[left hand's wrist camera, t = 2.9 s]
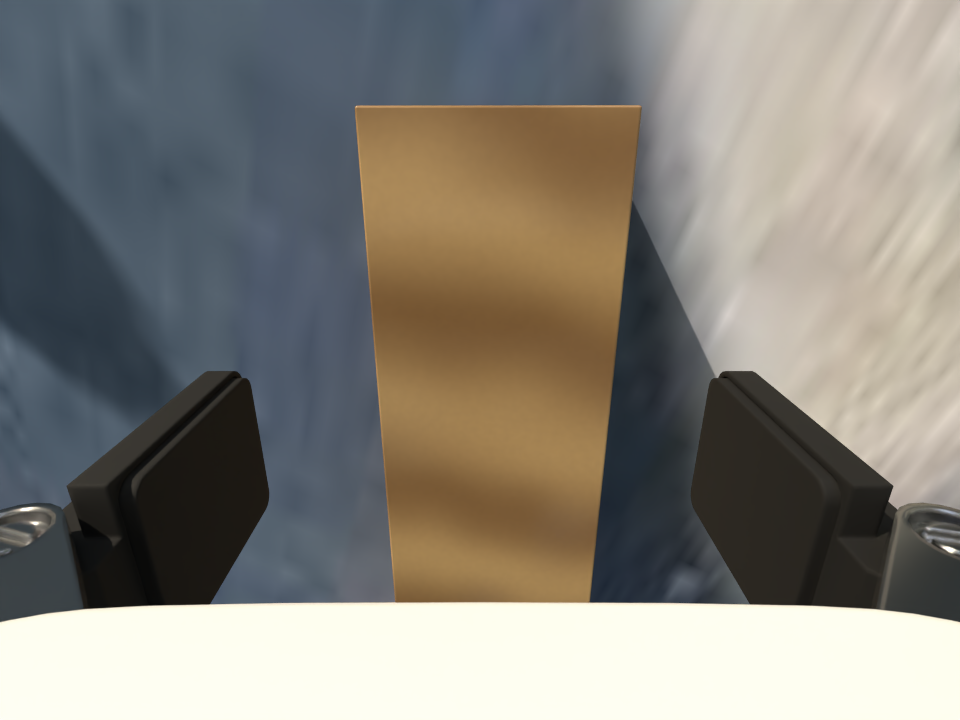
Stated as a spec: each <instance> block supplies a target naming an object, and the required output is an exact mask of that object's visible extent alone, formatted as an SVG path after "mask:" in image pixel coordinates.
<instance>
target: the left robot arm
mask: <svg viewBox="0 0 960 720" xmlns="http://www.w3.org/2000/svg"><path fill="white" fill-rule="evenodd" d="M67 489H68V492H69V495H70V498H71V500H72V502H71V503H70V504H69V505H67V506H66V507H65V508H64V509H63V510H62V509H61V507H59V506H56V505H53V504H50V503H31V504H23V505H17V506H13V507H9V508H5V509H2V510H0V720H960V510H958V509H955V508H951V507H947V506H943V505H937V504H929V503H910V504H907V505H904V506H901V507H899V509H898V510H897V509H896V508H895V507H894V506H893V505H891V504H890V503H889V502H888V500H889V498H890V495H891V492H892V489H893V485H892V484H890V483H889V482H888V481H887V480H885V479H884V478H883V477H882V476H881V475H879V474H878V473H877V472H876V471H875V470H873V469H872V468H871V467H870V466H868V465H867V464H866V463H865V462H864V461H862V460H861V459H860V458H859V457H857V456H856V455H855V454H854V453H853V452H851V451H850V450H849V449H848V448H847V447H845V446H844V445H843V444H842V443H840V442H839V441H838V440H837V439H836V438H834V437H833V436H832V435H831V434H829V433H828V432H827V431H826V430H825V429H823V428H822V427H821V426H820V425H819V424H817V423H816V422H815V421H814V420H812V419H811V418H810V417H809V416H808V415H806V414H805V413H804V412H803V411H802V410H800V409H799V408H798V407H797V406H795V405H794V404H793V403H792V402H791V401H789V400H788V399H787V398H786V397H784V396H783V395H782V394H781V393H780V392H778V391H777V390H776V389H775V388H774V387H772V386H771V385H770V384H769V383H767V382H766V381H765V380H764V379H763V378H761V377H760V376H759V375H758V374H756V373H755V372H753V371H724V372H722V373H721V374H720V375H719V377H718V378H714V379H712V380H711V382H710V385H709V389H708V395H707V401H706V406H705V412H704V418H703V424H702V430H701V435H700V441H699V447H698V453H697V459H696V464H695V470H694V476H693V482H692V488H691V501H692V505H693V508H694V510H695V512H696V513H697V515H698V517H699V518H700V520H701V522H702V524H703V525H704V527H705V529H706V530H707V532H708V534H709V535H710V537H711V539H712V540H713V542H714V544H715V546H716V547H717V549H718V551H719V552H720V554H721V556H722V557H723V559H724V561H725V563H726V564H727V566H728V568H729V569H730V571H731V573H732V574H733V576H734V578H735V579H736V581H737V583H738V585H739V586H740V588H741V590H742V591H743V593H744V595H745V596H746V598H747V600H748V601H749V603H750V605H743V604H689V603H531V602H430V603H271V604H217V605H210V603H211V601H212V600H213V598H214V596H215V595H216V593H217V591H218V590H219V588H220V586H221V585H222V583H223V581H224V579H225V578H226V576H227V574H228V573H229V571H230V569H231V568H232V566H233V564H234V563H235V561H236V559H237V557H238V556H239V554H240V552H241V551H242V549H243V547H244V546H245V544H246V542H247V540H248V539H249V537H250V535H251V534H252V532H253V530H254V529H255V527H256V525H257V524H258V522H259V520H260V518H261V517H262V515H263V513H264V512H265V510H266V508H267V505H268V501H269V488H268V482H267V476H266V470H265V464H264V459H263V453H262V447H261V441H260V435H259V430H258V424H257V418H256V412H255V406H254V401H253V395H252V389H251V385H250V382H249V380H248V379H247V378H242V377H241V376H240V374H239V373H238V372H236V371H207V372H205V373H204V374H202V375H201V376H200V377H199V378H197V379H196V380H195V381H194V382H193V383H191V384H190V385H189V386H188V387H186V388H185V389H184V390H183V391H182V392H180V393H179V394H178V395H177V396H176V397H174V398H173V399H172V400H171V401H169V402H168V403H167V404H166V405H165V406H163V407H162V408H161V409H160V410H158V411H157V412H156V413H155V414H154V415H152V416H151V417H150V418H149V419H148V420H146V421H145V422H144V423H143V424H141V425H140V426H139V427H138V428H137V429H135V430H134V431H133V432H132V433H131V434H129V435H128V436H127V437H126V438H124V439H123V440H122V441H121V442H120V443H118V444H117V445H116V446H115V447H113V448H112V449H111V450H110V451H109V452H107V453H106V454H105V455H104V456H103V457H101V458H100V459H99V460H98V461H96V462H95V463H94V464H93V465H92V466H90V467H89V468H88V469H87V470H85V471H84V472H83V473H82V474H81V475H79V476H78V477H77V478H76V479H75V480H73V481H72V482H71V483H70V484H68V485H67Z"/></svg>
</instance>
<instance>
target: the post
mask: <svg viewBox="0 0 960 720" xmlns="http://www.w3.org/2000/svg"><path fill="white" fill-rule="evenodd" d="M641 110H642V107H641V106H640V105H581V106H356V107H355V116H356V128H357V141H358V153H359V165H360V177H361V189H362V202H363V214H364V226H365V238H366V250H367V263H368V275H369V287H370V299H371V311H372V324H373V336H374V348H375V360H376V372H377V385H378V397H379V409H380V421H381V433H382V446H383V458H384V470H385V482H386V494H387V507H388V519H389V531H390V543H391V555H392V568H393V580H394V592H395V603H430V602H531V603H590V594H591V585H592V575H593V566H594V556H595V547H596V537H597V528H598V518H599V509H600V499H601V490H602V480H603V471H604V461H605V452H606V442H607V433H608V423H609V414H610V404H611V395H612V385H613V376H614V366H615V357H616V347H617V338H618V328H619V319H620V309H621V300H622V290H623V281H624V272H625V262H626V253H627V243H628V234H629V224H630V215H631V205H632V196H633V186H634V177H635V167H636V158H637V148H638V139H639V129H640V120H641Z"/></svg>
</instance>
